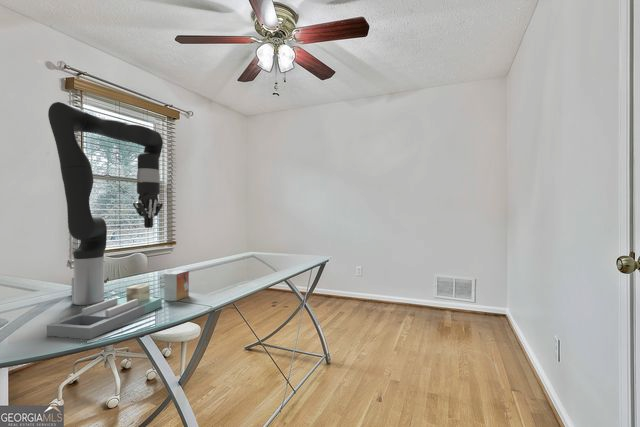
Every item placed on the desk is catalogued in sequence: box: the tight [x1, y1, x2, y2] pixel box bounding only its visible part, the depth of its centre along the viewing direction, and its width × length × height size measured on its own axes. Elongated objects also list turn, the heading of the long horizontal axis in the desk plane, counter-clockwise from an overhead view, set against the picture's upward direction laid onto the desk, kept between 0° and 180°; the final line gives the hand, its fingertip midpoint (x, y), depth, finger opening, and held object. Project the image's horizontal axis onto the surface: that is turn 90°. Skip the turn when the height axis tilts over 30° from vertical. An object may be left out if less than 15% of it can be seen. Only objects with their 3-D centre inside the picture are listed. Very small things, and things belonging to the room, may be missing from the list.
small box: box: [163, 269, 190, 302], centre depth 122 cm, size 8×6×10 cm
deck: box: [46, 296, 163, 340], centre depth 98 cm, size 14×29×5 cm, turn 171°
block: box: [125, 284, 151, 303], centre depth 109 cm, size 5×5×5 cm
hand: (148, 227), depth 115 cm, fingers closed
